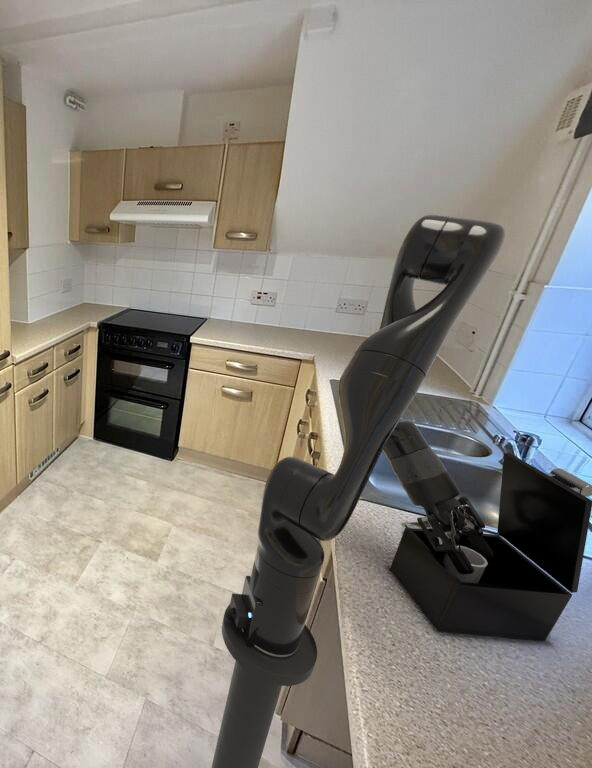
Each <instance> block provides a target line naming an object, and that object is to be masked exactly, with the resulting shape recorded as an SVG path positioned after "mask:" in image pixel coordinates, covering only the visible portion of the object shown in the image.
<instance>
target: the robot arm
mask: <svg viewBox="0 0 592 768" xmlns="http://www.w3.org/2000/svg"><path fill="white" fill-rule="evenodd" d="M505 232H506V229H505V228H504V227H503V226H502V225H501V224H498V223H496V222H491V221H488V220H487V221H486V220H479V219H471V218H462V217H453V216H448V215H439V214H426V215H423V216H421V217H419V218H418V219H417V220H416V221H415V222H414V223H413V225H412V226H411V227H410V229H409V230H408V231H407V234H406V235H405V237H404V239H403V241H402V243H401V244H400V248H399V249H398V253H397V256H396V259H395V261H394V265H393V269H392V272H391V277H390V280H389V281H390V282H389V285H388V290H387V293H386V297H385V301H384V308H383V312H382V315H381V321H380V323H379V324H380V325H379V328H378V330H377V331H375V332H374V333H372V334H370V335H369V336H368V337H367V338H365V339H364V340H362V341H361V342H360V344H358V346H357V347H356V349H355V350H354V352H353V354H352V356H351V358H350V359H349V361H348V363H347V365H346V366H345V368H344V369H343V372H342V373H341V375H340V378H339V380H338V387H337V395H338V402H339V408H340V414H341V420H342V425H343V434H344V446H343V447H344V448H343V452H342V458H341V460H340V463H339V466H338V468H337V470H336V471H335V474H334V473H332V472H330V471H327V470H325V469H323V468H321V467H319V466H317V465H314V464H312V463H310V462H308V461H306V460H303V459H301V458H299V457H296V456H287V457H284V458H282V459H280V460H279V461H277V463H276V464H274V466H273V467H272V469H271V471H270V472H269V475H268V476H267V479H266V482H265V484H264V485H265V486H264V489H263V495H262V500H261V506H260V507H261V508H260V513H259V514H260V515H259V521H258V527H257V538H258V541H257V547H256V551H255V556H254V560H253V565H252V569H251V574H250V575H246V576H245V577H244V580H243V581H244V582H243V586H242V591H241V593H233V592H232V593H231V597H230V602H229V605H230V606H231V609H229V610H228V611H227V612H226V618H227V619H228V621H229V622H230V623H234V620H235V624H236V627H237V628H241V631H242V634H243V637H244V640H245V643H246V646H247V647H252V648H255V649H256V650H257V651H259V652H260V653H262V654H264V655H266V656H269V657H272V658H276V659H286V658H290V657H292V656H293V655H295V654H296V652H297V651H298V648H299V644H300V639H301V635H302V632H303V628H304V625H306V621H307V618H308V615H309V613H310V608H311V604H312V601H313V599H314V595H315V593H316V592H315V591H316V588H317V585H318V581H319V578H320V575H321V571H322V568H323V565H324V561H325V551H324V547H323V545H322V543H321V542H320V541H322V542H329V541H332V540H334V539H335V538H337V537H338V536H339V535H340V534H341V533H342V531H343V530H344V529H345V527H346V526H347V524H349V521H350V519H351V517H352V515H353V513H354V511H355V510H356V507H357V506H358V503H359V501H360V499H361V497H362V495H363V493H364V490H365V488H366V487H367V483H368V482H369V480H370V478H371V475H372V473H373V471H374V469H375V466H376V465H377V462H378V460H379V458H380V456H381V454H382V453H384V455H385V457H386V458H387V459H388V462H389V464H390V466H391V469H392V472H393V473H394V474H395V476H396V478H397V480H398V481H399V483H400V485H401V486H402V488H403V490H404V491H405V493H406V495H407V496H408V498H409V500H410V501H411V503H412V505H414V506H417V507H422V508H423V510H424V513H425V516H422V517H421V516H420V517H417V519H416V522H418V523H419V525H420V526H421V528H422V530H423V531H424V533H425V535H426V536H427V538H428V540H429V541H430V543H431V545H432V546H433V548H434V550H435V551H436V552H445V553H447V555H448V556H449V558H450V559H451V561H452V563H453V564H454V566H455V568H456V569H457V571H458V572H459V573H460V574H472V573H473V572H474V571H475V570H474V568H473V567H472V565H471V563H470V562H469V560H468V559H467V557H466V555H465V554H464V552H463V550H461V547H460V543H459V538H460V536H461V534H460V532H462V533H463V534H464V535H466V536H469V537H468V538H467V539H468V541H469V542H470V544H471V546H472V547H473V549H474V551H476V552H477V553H479V554H481V555H482V556H483V557H484V558H492V557H493V556H494V553H493V552H492V550H491V548H490V547H489V545H488V544H487V542H486V541H485V539H484V537H483V536H482V535H483V534H484V531H483V529H485V528H486V524H485V522H484V521H483V520H482V518H481V516H480V515H479V513H478V512H477V510H476V508H475V507H474V506H473V504H472V503H471V501H470V500H469V498H468V496H466V495H463V496H460V495H461V490H460V488H459V487H458V485H457V484H456V482H455V480H454V479H453V477H452V475H451V474H450V473H449V471H448V470H447V468H446V466H445V465H444V463H443V461H442V460H441V458H440V457H439V456H438V454H437V453H436V452H435V451H434V449H432V447H431V446H430V445H429V443H428V441H427V440H426V438H425V437H424V435H423V433H422V432H421V430H420V429H419V427H418V426H417V424H416V423H415V422H413V420H408V419H403V420H401V419H402V417H403V416H404V414H405V412H406V411H407V410H408V408H409V406H410V405H411V403H412V401H414V398H415V397H416V395H417V394H418V392H419V390H420V389H421V386H422V384H424V383H423V382H424V381H425V379H426V377H427V375H428V373H429V371H430V369H431V368H432V366H433V363H434V362H435V360H436V358H437V355H438V354H439V352H440V350H441V348H442V346H443V344H444V342H445V340H446V338H447V336H448V335H449V333H450V331H451V329H452V327H453V326H454V324H455V322H456V321H457V319H458V318H459V316H460V315H461V313H462V312H463V310H464V308H465V307H466V305H467V304H468V302H469V301H470V299H471V298H472V296H473V295H474V293H475V292H476V290H477V289H478V287H479V285H480V284H481V282H482V281H483V280H484V278H485V277H486V275H487V273H488V272H489V270H490V268H491V267H492V266H493V264H494V262H495V260H496V259H497V257H498V255H499V253H500V252H501V249H502V246H503V244H504V241H505V236H506V233H505ZM416 280H420V281H423V282H429V283H433V284H439V285H443V286H445V287H443V289H442V290H441V291H439V292H438V293H437V294H435V296H434V297H432V299H430V300H429V301H428V302H426V303H425V304H424V305H422V306H420V307H419V308H417V307H416V303H415V298H414V286H415V281H416ZM444 531H445V532H444ZM435 538H438V539H439V543H440V544H438V542H437V540H436V539H435ZM449 539H451V541H452V544H451V542H450V540H449ZM232 615H233V617H234V619H233V617H232Z"/></svg>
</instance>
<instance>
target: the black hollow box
mask: <svg viewBox="0 0 592 768" xmlns="http://www.w3.org/2000/svg"><path fill="white" fill-rule="evenodd" d="M444 532H445V531H444ZM460 534H461V536H460V538H459V543H460V546H464V547H467V548H469V549H472V550H474V549H473V547H472V546H471V544H470V542H469V541H468V539H467V538H468V537H469V536H466V535H464V534H463V533H462V532H461V531H460ZM482 536H483V537H484V539H485V541H486V542H487V544H488V545H489V547H490V548H491V550H492V552H493V553H494V556H493V557H492V558H485V559H486V560H487V563H488V565H487V567H486V569H485V571H484V573H483V575H482V577H481V579H480V581H479V583H469V582H461V581H460V580H459V579H458V578H457V577H456V576H455V575H454V574H453V573H452V572H451V571H450V569H449V568H448V567H447V566H446V565H445V564H444V563H443V559H444V557H445V555H446V553H445V552H436V551H435V550H434V548H433V546H432V545H431V543H430V541H429V540H428V538H427V536H426V535H425V533H424V531H423V530H422V529H416V528H408V527H404V530H403V532H402V535H401V537H400V539H399V543H398V545H397V548H396V551H395V554H394V555H393V556H394V557H393V559H392V562H391V564H390V567H389V571H390V572H391V573H392V575H393V576H394V577H395V578H396V579H397V581H398V582H399V583H400V584H401V585H402V587H403V589H405V591H406V593H407V594H408V595H409V596H410V597H411V598H412V600H413V601H414V602H415V604H416V605H417V606H418V608H419V609H420V610H421V611H422V612H423V614H424V616H426V617H427V619H428V620H429V621H430V622H431V624H432V625H433V626H434V628H435V629H436V630H437V631H438V632H440V633H453V634H462V635H473V636H484V637H493V638H503V639H504V638H505V639H514V640H515V639H516V640H526V641H527V640H528V641H538V642H546V640H547V638H549V635H550V634H551V632H552V630H553V628H554V627H555V626H556V624H557V622H558V620H559V619H560V617H561V615H562V614H563V612H564V610H565V609H566V607H567V605H568V603H569V602H570V600H571V598H572V597H573V593H571V592H570V591H568V590H567V589H566V588H565V587H564V586H562V585H561V584H560V583H559V582H557V581H556V580H555V579H554V578H552V577H551V576H550V575H549V574H547V573H546V572H545V571H544V570H543V569H541V568H540V567H539V566H538V565H536V564H535V563H534V562H533V561H531V560H530V559H529V558H528V557H526V556H525V555H524V554H523V553H521V552H520V551H519V550H518V549H517V548H515V547H514V546H513V545H512V544H510V543H509V542H508V541H507V540H505V539H504V538H503V537H502V536H500V535H499V534H493V533H483V535H482ZM435 539H436V540H437V542H438V544H440V543H439V539H438V538H435ZM449 540H450V542H451V544H452V541H451V539H449Z"/></svg>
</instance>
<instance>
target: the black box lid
mask: <svg viewBox="0 0 592 768" xmlns="http://www.w3.org/2000/svg"><path fill="white" fill-rule="evenodd" d="M499 495H500V496H499V508H498V520H497V535H499V536H501V537H502V538H503V539H504V540H506V541H507V542H508V543H509V544H511V545H512V546H513V547H514V548H515V549H517V550H518V551H519V552H520V553H522V554H523V555H524V556H525V557H527V558H528V559H529V560H530V561H532V562H533V563H534V564H535V565H536V566H538V567H539V568H540V569H541V570H543V571H544V572H545V573H546V574H548V575H549V576H550V577H551V578H553V579H554V580H555V581H556V582H557V583H559V584H560V585H561V586H562V587H564V588H565V589H566V590H567V591H569V592H570V593H571V594H573V593H574V594H575V593H578V590H579V584H580V580H581V579H580V578H581V572H582V567H583V560H584V555H585V550H586V544H587V538H588V532H589V526H590V521H591V514H592V499H591V498H588V497H591V496H592V484H590V483H589V482H587V481H585V480H584V479H581V478H579V477H577V476H576V475H575V474H572V473H570V472H568V471H566V470H565V469H563V468H560V467H556V468H554V469H552V470H551V471H550V472H549V473H545V472H544V471H542V470H540V469H538V468H537V467H536V466H533V465H531V464H530V463H528V462H526V461H524V460H522V459H521V458H519V457H518V456H516V455H514V454H512V453H510V452H504V453H503V460H502V471H501V483H500V494H499Z"/></svg>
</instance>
